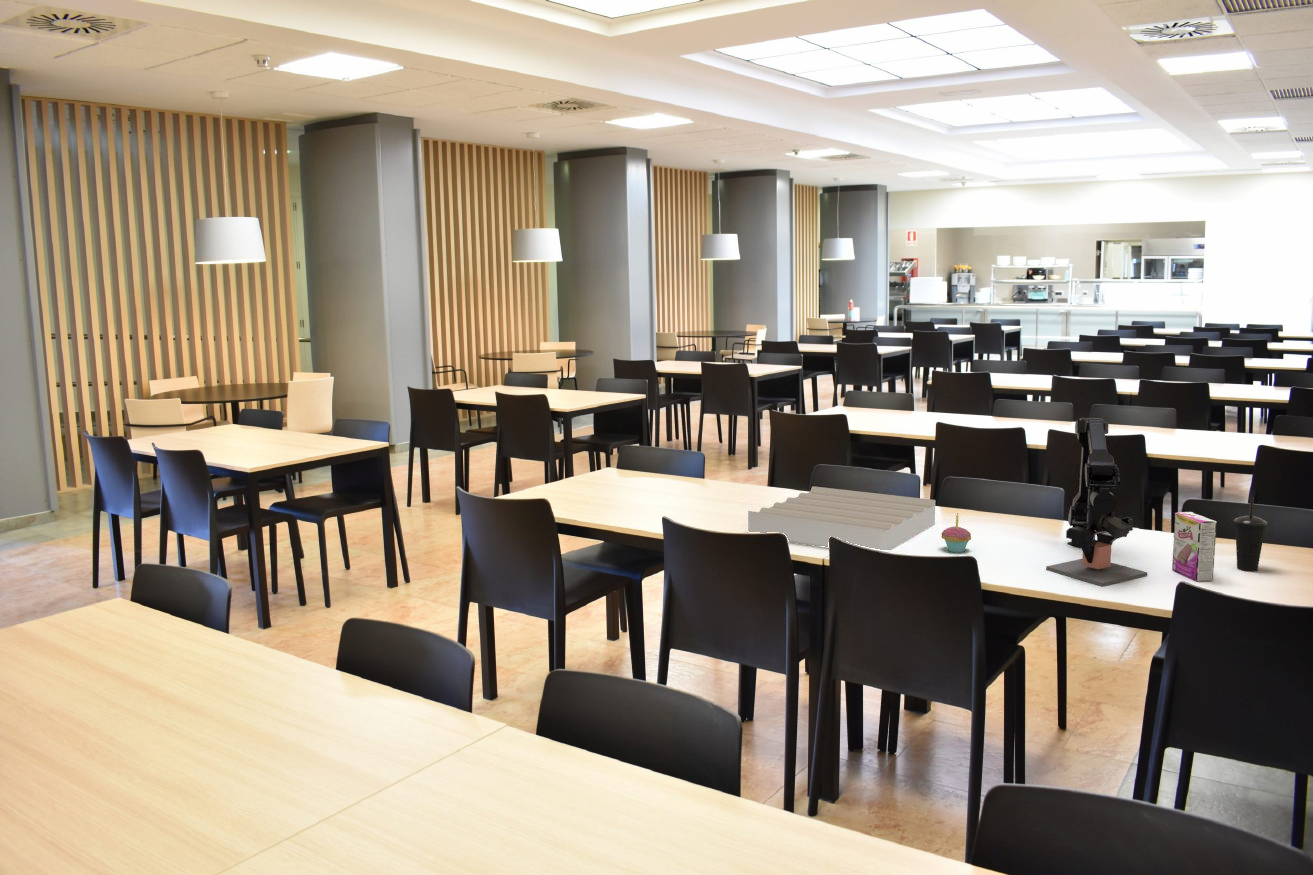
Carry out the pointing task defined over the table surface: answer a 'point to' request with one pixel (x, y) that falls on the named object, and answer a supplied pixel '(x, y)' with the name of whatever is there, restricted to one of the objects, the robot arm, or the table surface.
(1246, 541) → the drinking cup
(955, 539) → the cupcake
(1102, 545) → the red block
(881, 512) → the tray
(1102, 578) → the mat
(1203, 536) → the candy bar box
